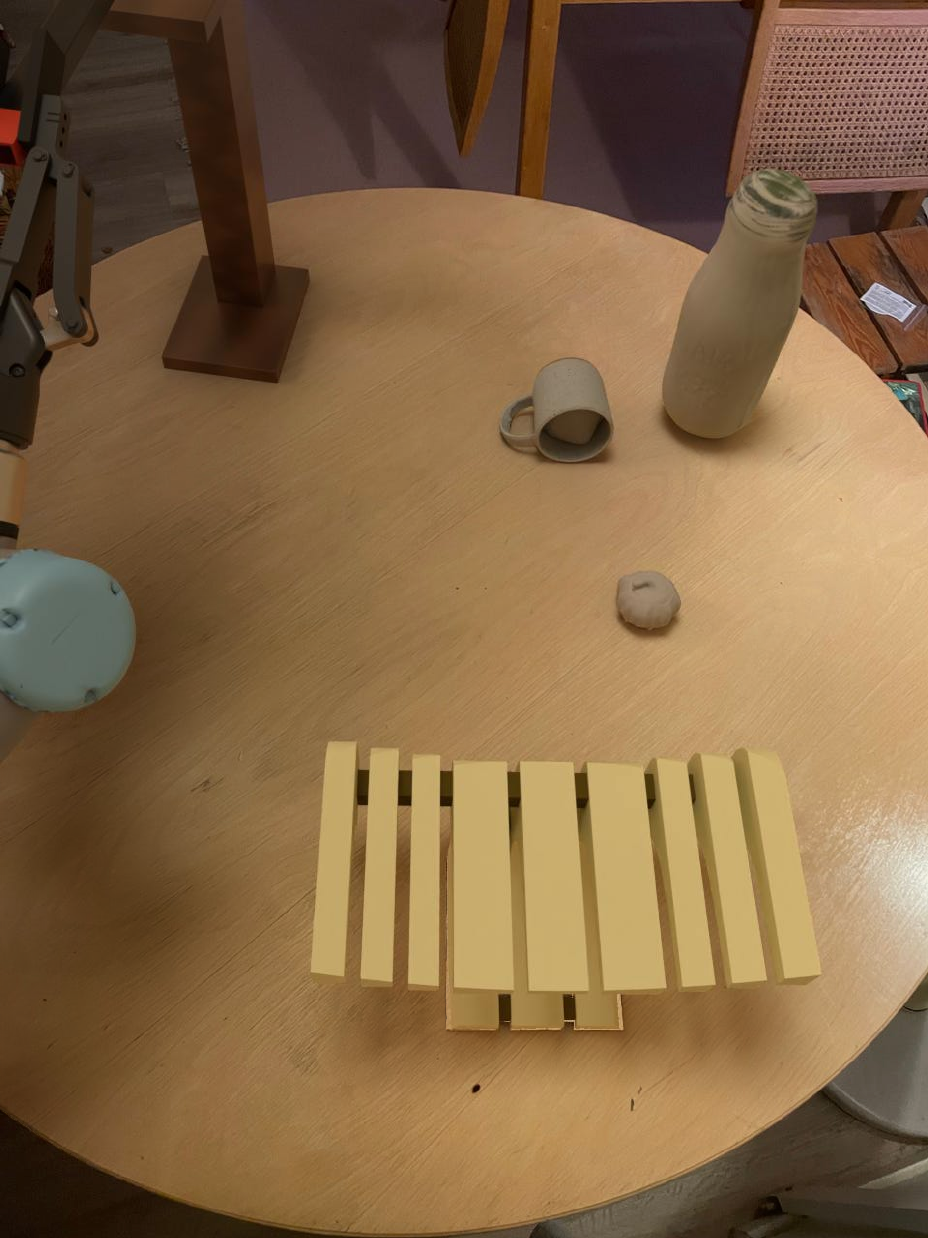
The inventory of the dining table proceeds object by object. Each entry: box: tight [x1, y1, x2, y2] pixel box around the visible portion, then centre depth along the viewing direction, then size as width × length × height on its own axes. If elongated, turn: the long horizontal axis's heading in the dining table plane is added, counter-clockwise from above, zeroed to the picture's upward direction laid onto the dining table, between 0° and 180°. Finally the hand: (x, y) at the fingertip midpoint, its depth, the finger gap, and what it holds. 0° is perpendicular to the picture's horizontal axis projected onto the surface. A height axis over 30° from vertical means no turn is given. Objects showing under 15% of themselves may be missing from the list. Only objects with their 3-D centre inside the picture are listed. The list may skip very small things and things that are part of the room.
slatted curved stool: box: [310, 740, 823, 1030], centre depth 72 cm, size 30×16×18 cm, turn 90°
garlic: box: [616, 570, 682, 631], centre depth 93 cm, size 6×5×5 cm
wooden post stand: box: [98, 0, 311, 384], centre depth 95 cm, size 12×18×38 cm, turn 172°
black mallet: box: [0, 0, 115, 168], centre depth 64 cm, size 3×22×3 cm, turn 173°
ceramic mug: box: [499, 356, 615, 463], centre depth 103 cm, size 11×8×8 cm
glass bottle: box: [661, 167, 819, 439], centre depth 96 cm, size 10×10×28 cm
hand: (21, 39), depth 60 cm, fingers closed on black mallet, 3 cm apart
